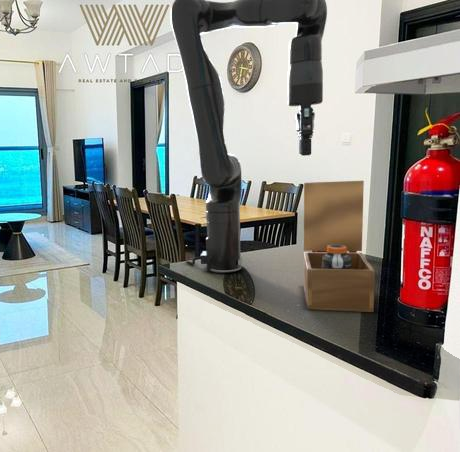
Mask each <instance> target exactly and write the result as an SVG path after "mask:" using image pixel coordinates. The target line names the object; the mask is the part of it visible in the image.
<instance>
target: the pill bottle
mask: <svg viewBox="0 0 460 452" xmlns="http://www.w3.org/2000/svg"><path fill="white" fill-rule="evenodd" d="M346 253H348V251H347V247H346V246H344V245H328V246H327V254H326V255H324V256H323V258H322V269H351V258H350V257H349V256H348V255H347V254H346Z"/></svg>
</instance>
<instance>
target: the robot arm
mask: <svg viewBox="0 0 460 452" xmlns="http://www.w3.org/2000/svg"><path fill="white" fill-rule="evenodd" d="M326 1H327V0H233V1H226V2H222V1H221V2H219V1H211V0H174V1H173V3H172V5H171V7H170V17H169V18H170V25H171V28H172V32H173V36H174V38H175V42H176V46H177V48H178V52H179V56H180V61H181V65H182V69H183V74H184V79H185V83H186V90H187V96H188V101H189V106H190V110H191V114H192V119H193V124H194V129H195V133H196V139H197V144H198V154H199V155H198V156H199V166H200V174H201V177H202V179H203V181H204V182H205V184H207V185H208V186H209V194H208V198H207V199H206V201H205V213H206V238H205V250H203V251H202V252H201V254H200V256H195V257H193V258H192V260H191V261H189V260H186V262H185V263H186V264H188V265H191V266H192V265H195V264H196V261H197V260H200V265H206V272H207V273H208V272H210V273H215V274H233V273H238V272H240V271H241V270H242V264H243V258H242V257H241V256H242V255H241V252H242V251H241V218H240V217H241V214H240V212H241V211H240V206H241V205H240V203H241V199H242V166H241V163H240V162H241V161H239V159H238V157H236V156H235V155H234V154H232V153H229V152H228V148H227V144H226V139H225V134H224V122H225V111H226V107H225V96H224V92H223V85H222V80H221V77H220V74H219V72H218V71H217V69H216V67H215V65H214V64H213V62H212V60H211V59H210V57H209V56H208V53H207V52H206V49H205V47H204V45H203V40H202V35H204V34H208V33H212V32H215V31H219V30H224V29H231V28H266V27H275V26H278V25H279V24H296V32H295V36H294V37H292V38H291V40H289V43H288V71H287V105H288V106H289V107H298V109H299V110H298V111H297V113H296V114H295V123H296V132H297V138H298V153H299V155H301V156H304V157H305V156H311V155H312V139H313V135H314V129H315V117H316V114H315V111H314V107H312V106H315V105H320V104H322V103H323V99H324V98H323V97H324V96H323V95H324V93H323V91H324V90H323V89H324V82H323V81H324V70H323V62H322V60H323V59H322V58H323V45H322V42H323V37H324V33H325V30H326V29H325V28H326V24H327V17H328V5H327V2H326Z"/></svg>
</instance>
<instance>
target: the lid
mask: <svg viewBox="0 0 460 452" xmlns="http://www.w3.org/2000/svg"><path fill="white" fill-rule="evenodd" d="M364 182H365V181H364V180H342V181H341V180H337V181H314V182H312V181H311V182H303V251H304V252H312V251H327V246H328V245H344V246H346V247H347V252H349V251H357V252H363V228H362V227H363V226H364V225H363V221H364V186H365V183H364Z"/></svg>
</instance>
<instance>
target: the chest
mask: <svg viewBox="0 0 460 452" xmlns="http://www.w3.org/2000/svg"><path fill="white" fill-rule="evenodd" d="M326 254H327V252H312V251H304V252H303V290H304V297H305V302H306V308H307V310H316V311H317V310H319V311H341V312H359V313H360V312H361V313H363V312H365V313H374V308H375V277H376V276H375V273H376V271H375V269H374V268H373V266H372V264H370V261H368V260H367V258H366V257H365V255H364V254H363V253H362V252H356V253H349V252H347V253H346V254H347V255H348V256H349V257H350V258H351V269H322V258H323V256H324V255H326Z"/></svg>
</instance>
